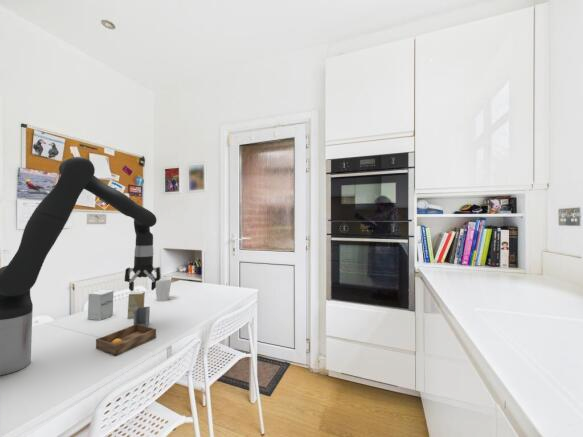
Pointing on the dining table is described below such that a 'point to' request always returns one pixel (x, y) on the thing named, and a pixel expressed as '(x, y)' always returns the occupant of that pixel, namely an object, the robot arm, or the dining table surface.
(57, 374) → the dining table surface
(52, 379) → the dining table surface
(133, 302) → the skincare box
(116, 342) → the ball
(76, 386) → the dining table surface
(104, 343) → the tray
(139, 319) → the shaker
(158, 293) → the foam cup
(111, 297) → the supplement box
